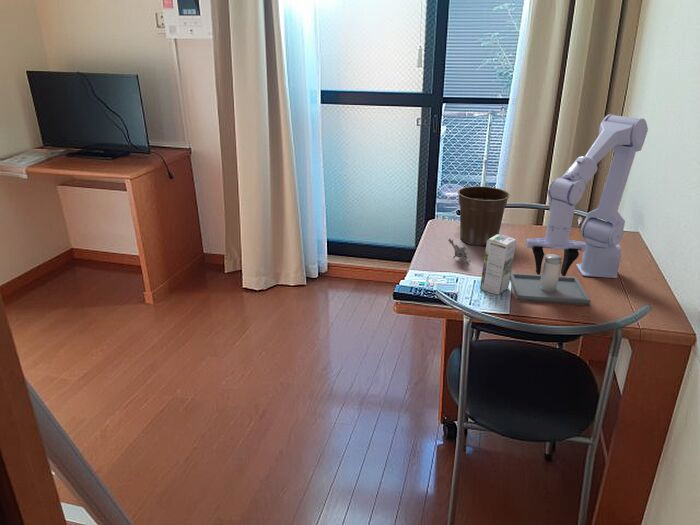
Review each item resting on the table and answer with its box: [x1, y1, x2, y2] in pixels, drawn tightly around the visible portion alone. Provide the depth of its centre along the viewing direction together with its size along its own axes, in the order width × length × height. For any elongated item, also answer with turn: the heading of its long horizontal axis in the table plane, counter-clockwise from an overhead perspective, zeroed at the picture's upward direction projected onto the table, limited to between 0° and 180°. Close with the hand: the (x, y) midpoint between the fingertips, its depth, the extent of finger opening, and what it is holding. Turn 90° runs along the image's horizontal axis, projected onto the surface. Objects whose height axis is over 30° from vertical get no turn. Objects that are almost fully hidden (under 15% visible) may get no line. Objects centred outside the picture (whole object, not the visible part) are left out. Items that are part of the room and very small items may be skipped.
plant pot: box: [457, 185, 511, 247], centre depth 176 cm, size 16×16×16 cm
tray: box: [509, 272, 591, 306], centre depth 144 cm, size 18×14×2 cm
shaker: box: [539, 253, 563, 292], centre depth 143 cm, size 4×4×9 cm
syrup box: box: [479, 234, 517, 296], centre depth 142 cm, size 6×6×14 cm
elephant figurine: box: [448, 238, 471, 266], centre depth 162 cm, size 10×6×9 cm
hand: (550, 273), depth 143 cm, fingers open, 6 cm apart
